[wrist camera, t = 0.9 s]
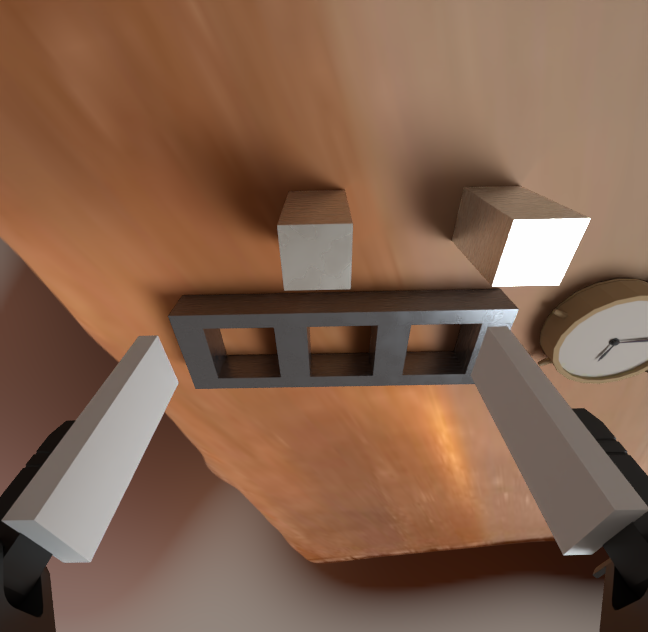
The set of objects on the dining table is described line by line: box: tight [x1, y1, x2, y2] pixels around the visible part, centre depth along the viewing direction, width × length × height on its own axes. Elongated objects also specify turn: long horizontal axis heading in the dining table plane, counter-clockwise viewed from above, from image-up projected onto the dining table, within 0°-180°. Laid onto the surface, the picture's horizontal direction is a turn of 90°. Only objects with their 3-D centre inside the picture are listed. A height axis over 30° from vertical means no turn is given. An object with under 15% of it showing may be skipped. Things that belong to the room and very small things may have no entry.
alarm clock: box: [538, 279, 648, 384], centre depth 31 cm, size 11×5×15 cm
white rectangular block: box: [452, 186, 591, 286], centre depth 23 cm, size 4×4×8 cm
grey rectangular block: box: [277, 190, 353, 291], centre depth 23 cm, size 4×4×8 cm
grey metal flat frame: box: [168, 289, 519, 389], centre depth 32 cm, size 10×31×4 cm, turn 91°
